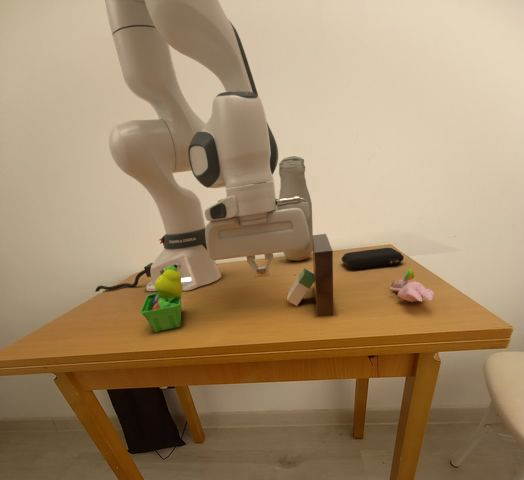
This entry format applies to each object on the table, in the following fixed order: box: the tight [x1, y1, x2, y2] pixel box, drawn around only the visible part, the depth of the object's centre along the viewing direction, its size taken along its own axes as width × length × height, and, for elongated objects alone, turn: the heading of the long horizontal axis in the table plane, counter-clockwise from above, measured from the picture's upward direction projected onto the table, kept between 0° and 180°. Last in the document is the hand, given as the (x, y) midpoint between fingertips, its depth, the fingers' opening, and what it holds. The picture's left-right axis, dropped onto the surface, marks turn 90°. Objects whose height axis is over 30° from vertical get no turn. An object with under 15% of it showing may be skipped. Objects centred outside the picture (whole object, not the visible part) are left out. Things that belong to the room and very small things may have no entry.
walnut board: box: [312, 233, 334, 317], centre depth 60 cm, size 3×16×12 cm, turn 174°
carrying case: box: [340, 247, 405, 271], centre depth 79 cm, size 11×3×15 cm
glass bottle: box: [278, 155, 314, 262], centre depth 87 cm, size 10×10×28 cm
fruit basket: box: [140, 266, 183, 333], centre depth 61 cm, size 11×9×11 cm
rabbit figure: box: [389, 268, 435, 303], centre depth 56 cm, size 6×6×15 cm
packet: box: [286, 267, 315, 307], centre depth 62 cm, size 6×5×7 cm
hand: (262, 276), depth 61 cm, fingers closed
